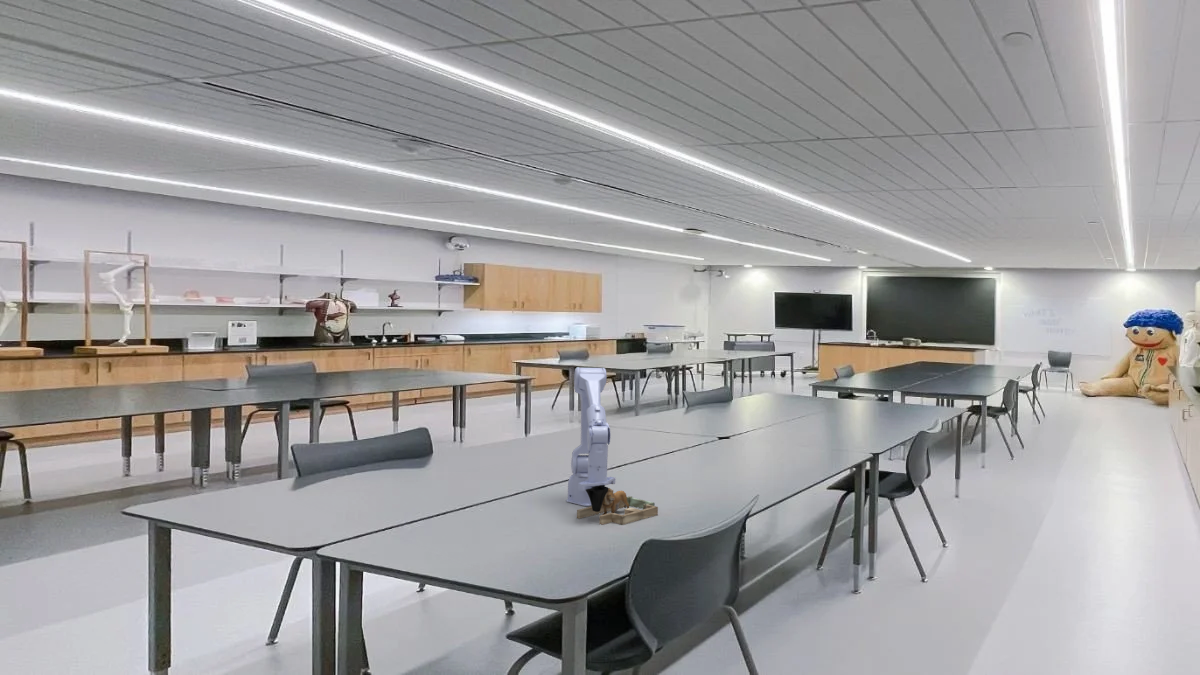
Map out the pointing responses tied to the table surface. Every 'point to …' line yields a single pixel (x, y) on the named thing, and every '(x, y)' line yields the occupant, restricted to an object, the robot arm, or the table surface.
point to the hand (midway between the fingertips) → (596, 511)
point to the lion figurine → (614, 500)
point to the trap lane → (630, 513)
